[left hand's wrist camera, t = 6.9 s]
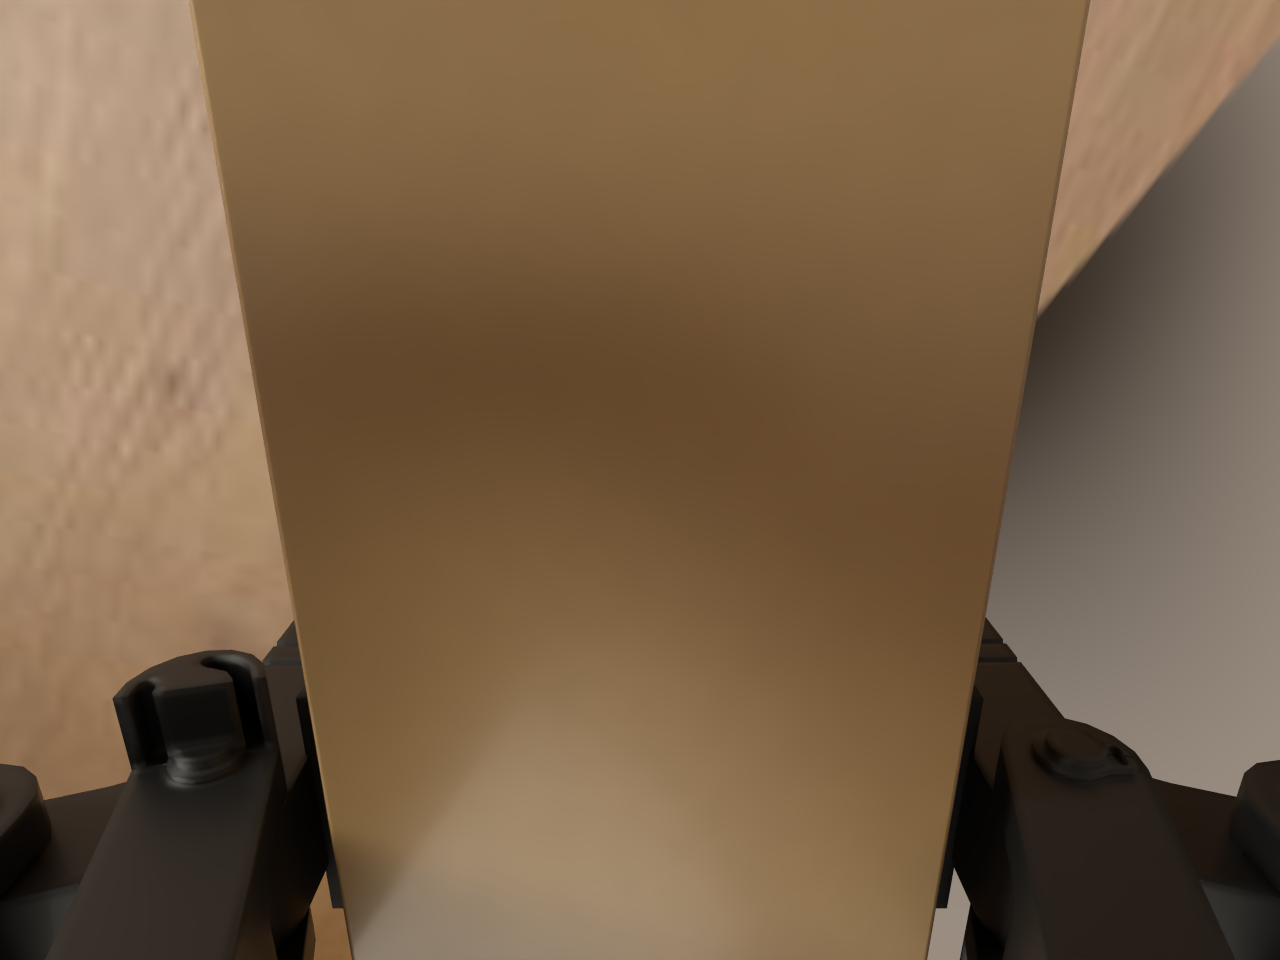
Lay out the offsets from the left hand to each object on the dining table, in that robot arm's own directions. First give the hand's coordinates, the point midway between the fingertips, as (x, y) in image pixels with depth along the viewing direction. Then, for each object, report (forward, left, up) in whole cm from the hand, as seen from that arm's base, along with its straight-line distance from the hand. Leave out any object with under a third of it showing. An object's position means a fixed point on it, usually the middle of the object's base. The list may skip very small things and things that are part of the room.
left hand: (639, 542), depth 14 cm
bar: (+6, +6, -1) cm, 8 cm away
